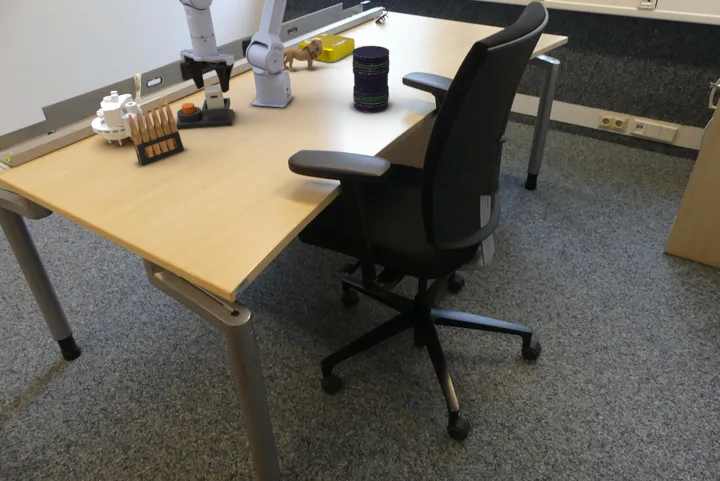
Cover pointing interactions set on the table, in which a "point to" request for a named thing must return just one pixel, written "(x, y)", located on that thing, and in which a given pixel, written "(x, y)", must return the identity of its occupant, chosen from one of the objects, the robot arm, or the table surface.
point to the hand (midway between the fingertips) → (213, 89)
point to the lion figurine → (304, 54)
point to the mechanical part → (116, 117)
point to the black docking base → (202, 119)
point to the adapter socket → (216, 111)
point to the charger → (214, 97)
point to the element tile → (332, 46)
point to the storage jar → (370, 78)
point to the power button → (188, 108)
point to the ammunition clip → (155, 136)
